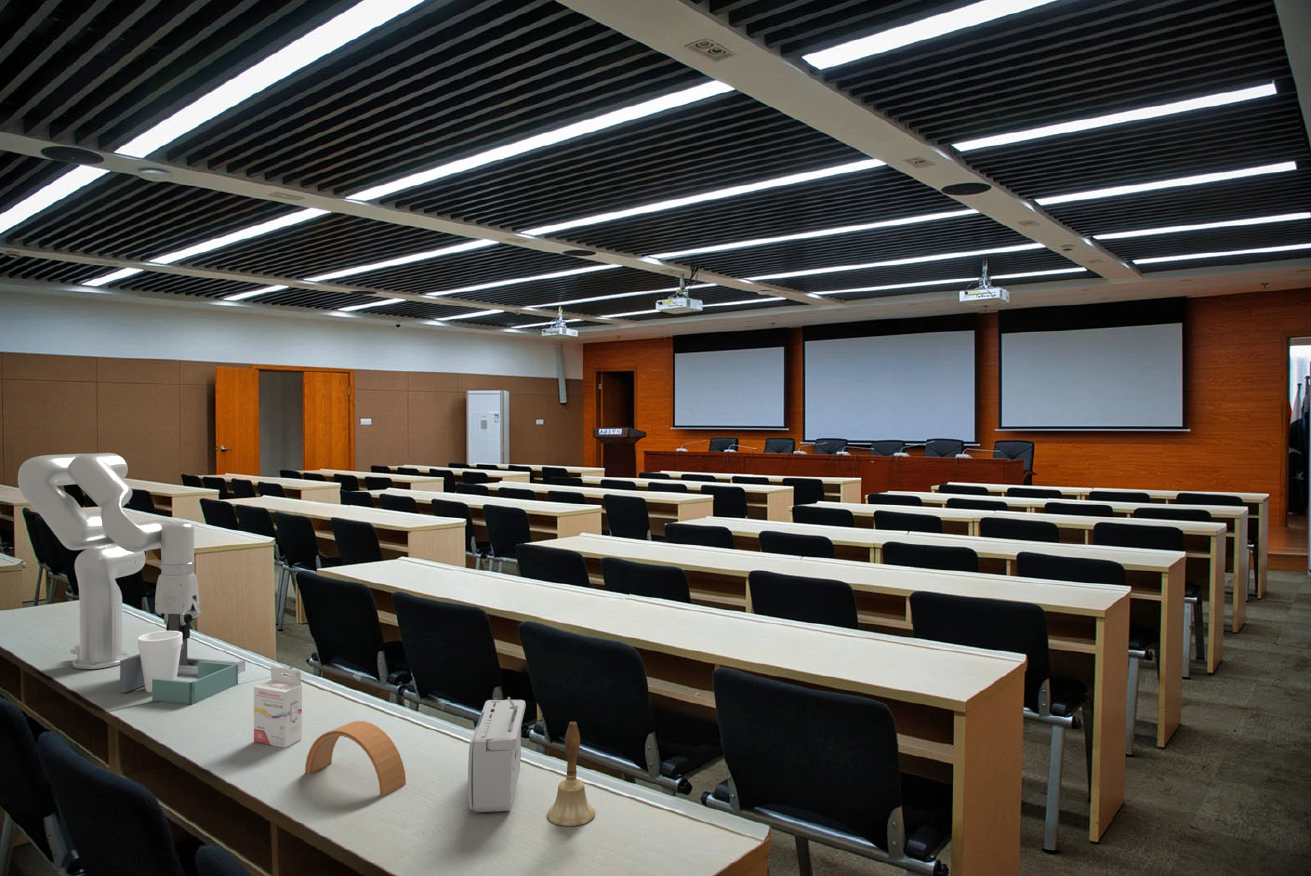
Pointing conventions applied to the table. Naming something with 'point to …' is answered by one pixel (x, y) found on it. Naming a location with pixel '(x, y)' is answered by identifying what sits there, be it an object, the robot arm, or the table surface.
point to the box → (197, 684)
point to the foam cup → (159, 655)
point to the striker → (133, 667)
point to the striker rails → (193, 662)
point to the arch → (371, 742)
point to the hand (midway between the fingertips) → (178, 638)
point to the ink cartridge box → (278, 709)
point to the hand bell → (571, 789)
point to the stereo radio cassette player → (495, 756)
